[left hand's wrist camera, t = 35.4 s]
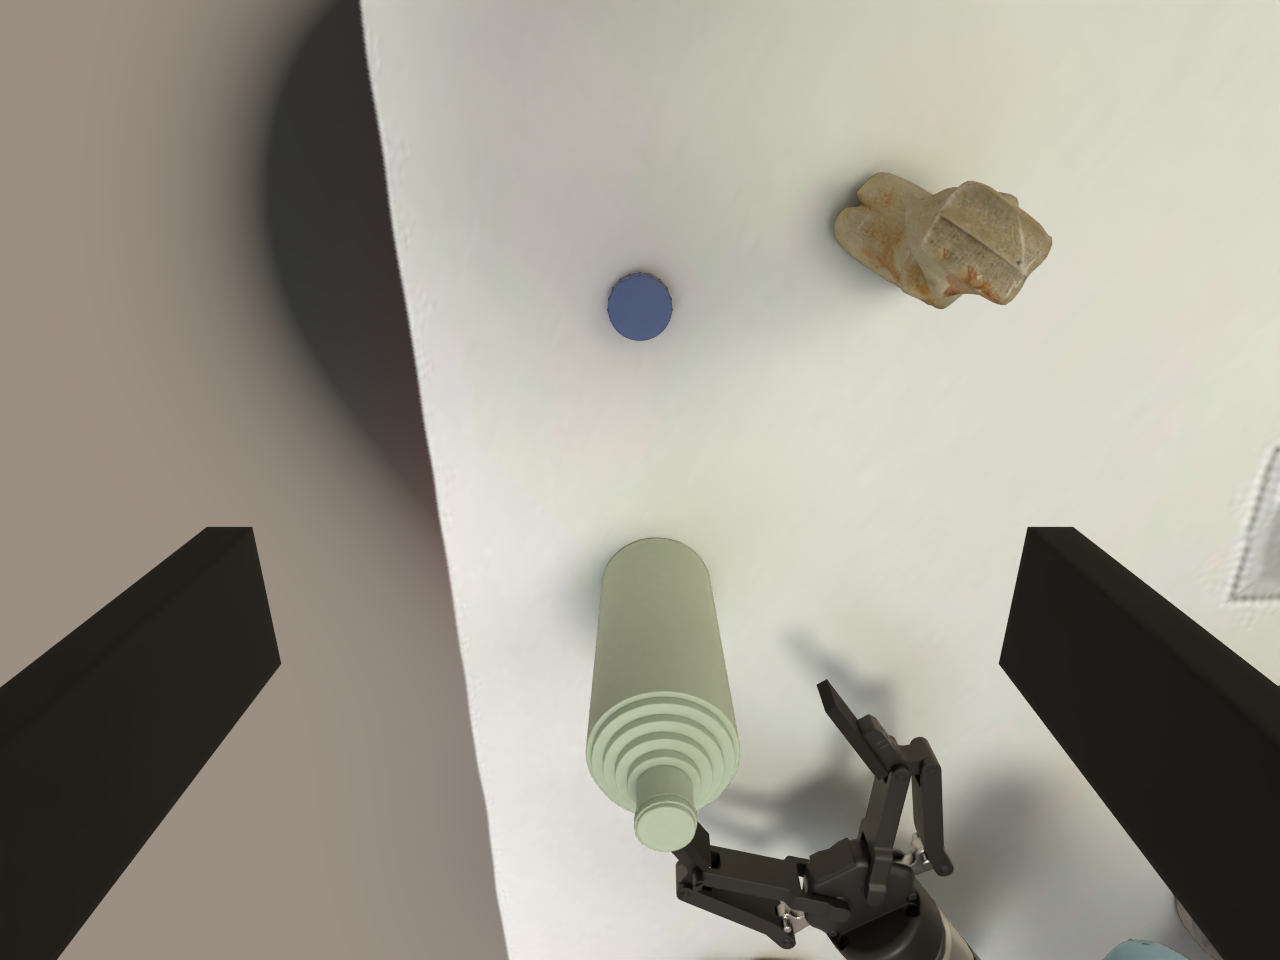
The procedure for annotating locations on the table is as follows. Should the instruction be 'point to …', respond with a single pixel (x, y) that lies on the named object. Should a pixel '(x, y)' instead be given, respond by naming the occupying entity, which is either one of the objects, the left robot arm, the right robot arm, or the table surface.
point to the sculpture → (943, 239)
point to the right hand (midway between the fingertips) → (735, 744)
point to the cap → (640, 306)
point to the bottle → (660, 693)
